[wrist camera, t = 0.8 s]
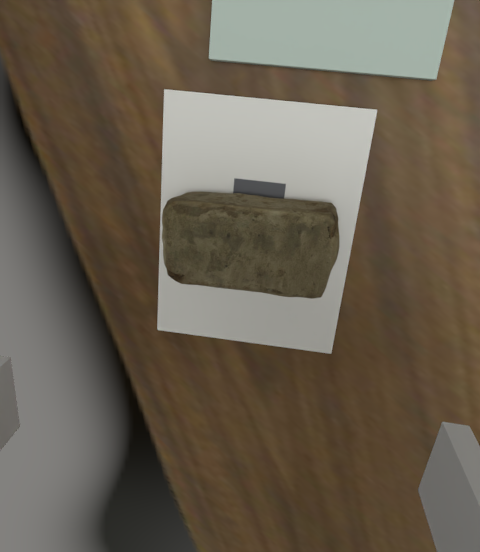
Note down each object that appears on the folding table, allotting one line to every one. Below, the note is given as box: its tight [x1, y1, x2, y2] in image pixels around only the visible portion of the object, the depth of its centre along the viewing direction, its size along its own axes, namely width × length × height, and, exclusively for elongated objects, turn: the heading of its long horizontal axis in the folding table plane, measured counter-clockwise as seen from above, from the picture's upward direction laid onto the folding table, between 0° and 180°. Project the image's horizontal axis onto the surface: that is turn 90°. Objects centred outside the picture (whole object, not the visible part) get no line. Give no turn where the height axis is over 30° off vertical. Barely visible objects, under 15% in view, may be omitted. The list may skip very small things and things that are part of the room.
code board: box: [157, 89, 377, 354], centre depth 32 cm, size 18×14×1 cm
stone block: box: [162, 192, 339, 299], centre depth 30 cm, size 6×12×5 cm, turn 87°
